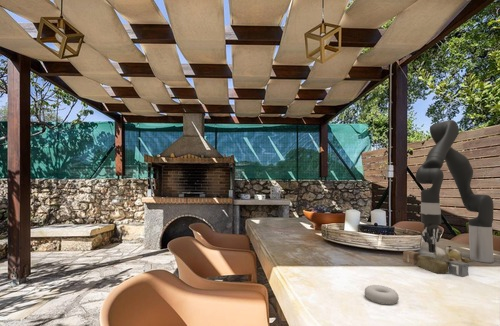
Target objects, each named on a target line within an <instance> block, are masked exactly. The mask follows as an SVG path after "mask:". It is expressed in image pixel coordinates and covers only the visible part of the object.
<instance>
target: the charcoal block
mask: <svg viewBox="0 0 500 326" xmlns="http://www.w3.org/2000/svg"><path fill="white" fill-rule="evenodd" d="M448 268H449V272H448V274H449V275H453V276H456V277H460V278H464V277H468V276H469V263H464V262H460V261H455V260H454V261H450V262H449V263H448Z"/></svg>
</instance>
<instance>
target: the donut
mask: <svg viewBox="0 0 500 326" xmlns="http://www.w3.org/2000/svg"><path fill="white" fill-rule="evenodd" d="M364 295H365V297H366V298H367V299H368V300H369V301H372V302H374V303H377V304H379V305H380V304H381V305H394V304H396V303H398V302H399V299H400V297H399V294H398V292H397V291H396V290H395V289H393V288H392V287H389V286H385V285H382V284H381V285H380V284H370V285H368V286H366V287H365V289H364Z"/></svg>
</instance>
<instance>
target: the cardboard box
mask: <svg viewBox="0 0 500 326" xmlns="http://www.w3.org/2000/svg"><path fill="white" fill-rule="evenodd" d="M420 254H421V253H420V252H417V251H413V250H404V251H403V253H402V255H403V256H402V258H403V263H406V264H410V265H413V264H414V265H418V264H417V263H418V256H421V255H420Z"/></svg>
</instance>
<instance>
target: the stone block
mask: <svg viewBox="0 0 500 326" xmlns="http://www.w3.org/2000/svg"><path fill="white" fill-rule="evenodd" d="M416 265H417V266H419V267H420V268H422V269H425V270H426V271H430V272H433V273H435V274H444V275H445V274H449V263H447V262H445V261H442V260H439V259H436V257H433V256H428V255H420V256H418V263H417V264H416Z"/></svg>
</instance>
